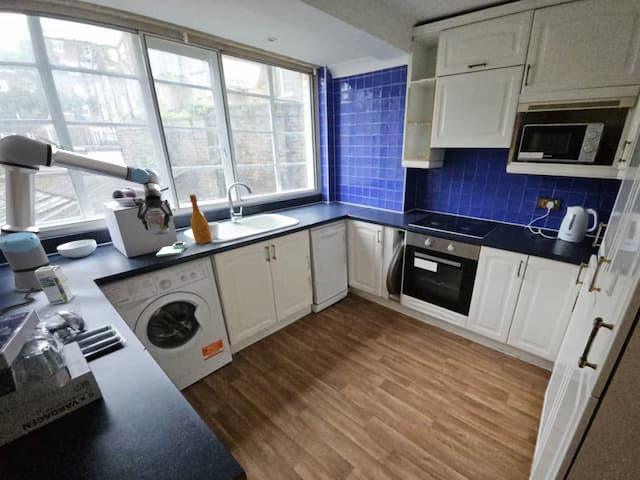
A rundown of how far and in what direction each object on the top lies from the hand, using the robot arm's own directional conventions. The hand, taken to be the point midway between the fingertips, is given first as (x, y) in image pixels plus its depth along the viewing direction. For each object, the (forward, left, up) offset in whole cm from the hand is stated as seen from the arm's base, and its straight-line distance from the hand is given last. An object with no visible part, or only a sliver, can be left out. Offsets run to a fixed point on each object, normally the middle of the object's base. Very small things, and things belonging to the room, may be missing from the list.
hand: (157, 227), depth 158 cm
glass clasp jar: (+3, 0, -4) cm, 5 cm away
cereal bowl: (+20, +49, -17) cm, 55 cm away
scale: (+8, -1, -17) cm, 19 cm away
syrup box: (-44, +26, -17) cm, 54 cm away
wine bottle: (+22, -16, -17) cm, 32 cm away
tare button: (+12, -5, -14) cm, 19 cm away
